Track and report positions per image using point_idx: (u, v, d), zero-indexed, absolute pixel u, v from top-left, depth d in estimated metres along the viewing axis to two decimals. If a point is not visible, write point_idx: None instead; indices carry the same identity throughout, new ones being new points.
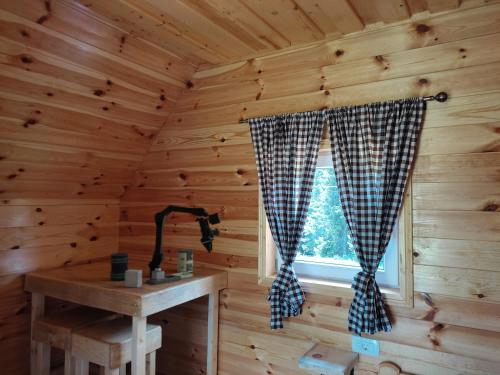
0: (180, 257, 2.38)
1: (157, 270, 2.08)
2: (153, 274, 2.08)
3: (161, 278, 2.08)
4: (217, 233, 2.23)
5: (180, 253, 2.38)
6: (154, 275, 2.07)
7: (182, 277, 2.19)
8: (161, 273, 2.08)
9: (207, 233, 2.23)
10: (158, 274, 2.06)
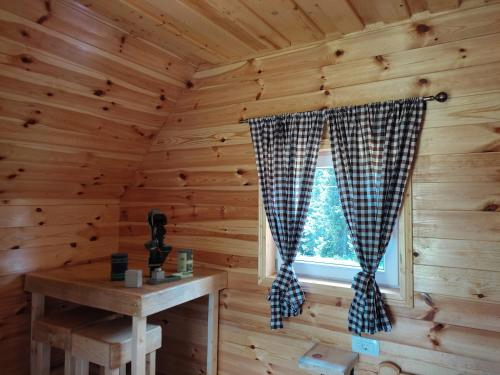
0: (180, 257, 2.38)
1: (157, 270, 2.08)
2: (153, 274, 2.08)
3: (161, 278, 2.08)
4: None
5: (180, 253, 2.38)
6: (154, 275, 2.07)
7: (182, 277, 2.19)
8: (161, 273, 2.08)
9: None
10: (158, 274, 2.06)
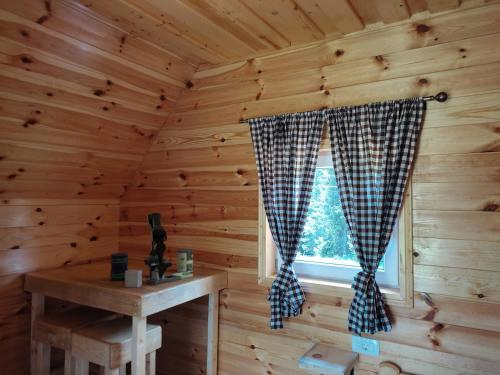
0: (180, 257, 2.38)
1: (157, 270, 2.08)
2: (153, 274, 2.08)
3: None
4: None
5: (180, 253, 2.38)
6: (154, 275, 2.07)
7: (182, 277, 2.19)
8: None
9: None
10: (158, 274, 2.06)
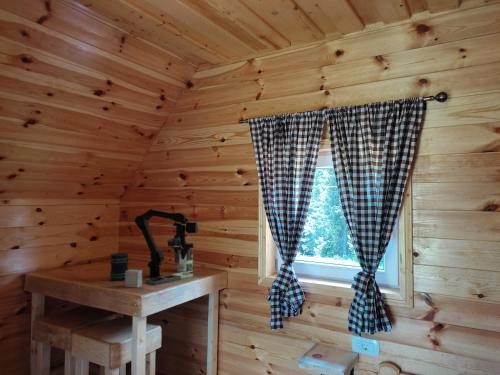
0: None
1: (179, 251, 2.22)
2: (176, 255, 2.22)
3: (183, 259, 2.22)
4: None
5: None
6: (176, 256, 2.22)
7: (182, 277, 2.19)
8: None
9: None
10: (180, 255, 2.21)
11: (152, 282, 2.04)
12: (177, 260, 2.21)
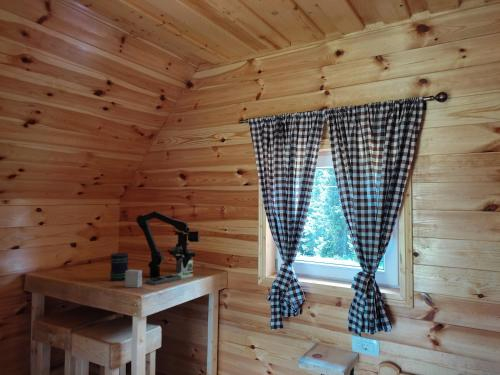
0: None
1: (181, 260, 2.23)
2: (177, 263, 2.24)
3: None
4: None
5: None
6: (178, 264, 2.23)
7: (182, 277, 2.19)
8: None
9: None
10: (182, 263, 2.22)
11: (152, 282, 2.04)
12: (179, 269, 2.23)
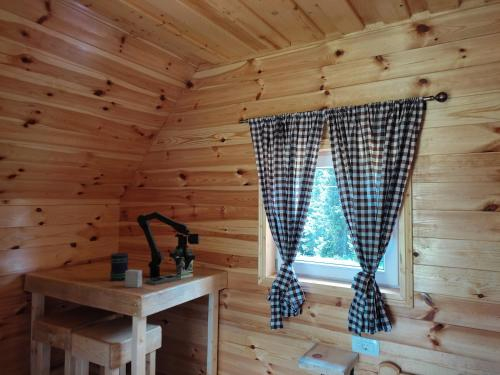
0: None
1: (181, 264, 2.23)
2: (177, 268, 2.24)
3: (185, 272, 2.24)
4: None
5: None
6: (178, 269, 2.23)
7: (182, 277, 2.19)
8: None
9: None
10: (182, 268, 2.22)
11: (152, 282, 2.04)
12: (179, 273, 2.23)
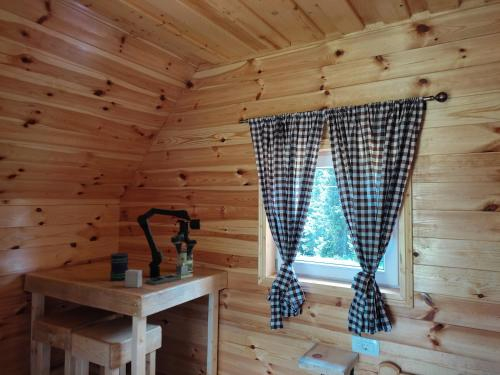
0: (180, 257, 2.38)
1: (181, 264, 2.23)
2: (177, 268, 2.24)
3: (185, 272, 2.24)
4: None
5: (180, 253, 2.38)
6: (178, 269, 2.23)
7: (182, 277, 2.19)
8: (185, 267, 2.24)
9: None
10: (182, 268, 2.22)
11: (152, 282, 2.04)
12: (179, 273, 2.23)
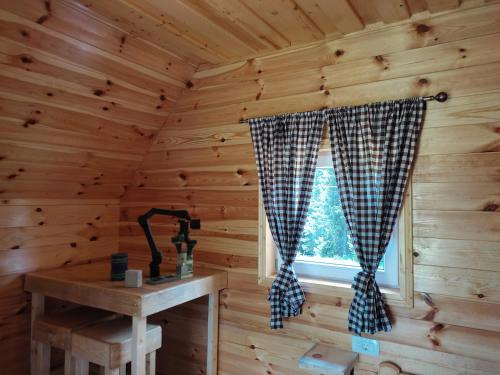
0: (180, 257, 2.38)
1: (181, 264, 2.23)
2: (177, 268, 2.24)
3: (185, 272, 2.24)
4: None
5: (180, 253, 2.38)
6: (178, 269, 2.23)
7: (182, 277, 2.19)
8: (185, 267, 2.24)
9: None
10: (182, 268, 2.22)
11: (152, 282, 2.04)
12: (179, 273, 2.23)
